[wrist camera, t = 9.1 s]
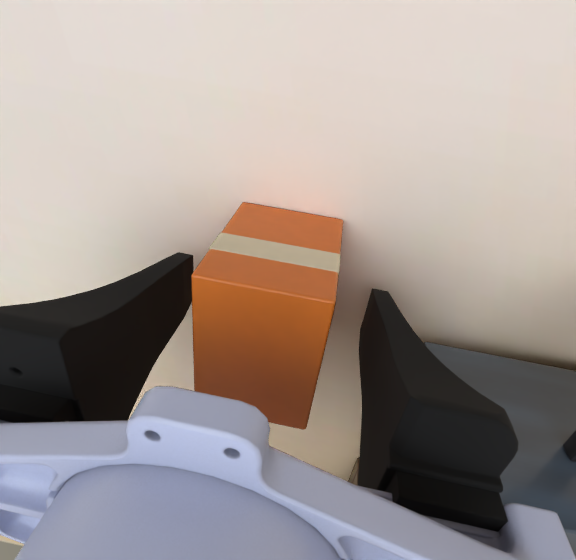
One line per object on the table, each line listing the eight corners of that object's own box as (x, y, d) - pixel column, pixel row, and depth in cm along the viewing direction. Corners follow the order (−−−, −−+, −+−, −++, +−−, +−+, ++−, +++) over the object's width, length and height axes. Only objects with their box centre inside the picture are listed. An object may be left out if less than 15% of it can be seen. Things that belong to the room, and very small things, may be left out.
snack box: (242, 200, 15) (189, 274, 10) (344, 218, 15) (336, 301, 10) (235, 312, 18) (193, 407, 13) (320, 329, 18) (306, 431, 13)
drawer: (461, 254, 14) (531, 407, 8) (865, 326, 13) (1265, 556, 7) (355, 503, 23) (353, 651, 18) (580, 554, 23) (654, 727, 17)
